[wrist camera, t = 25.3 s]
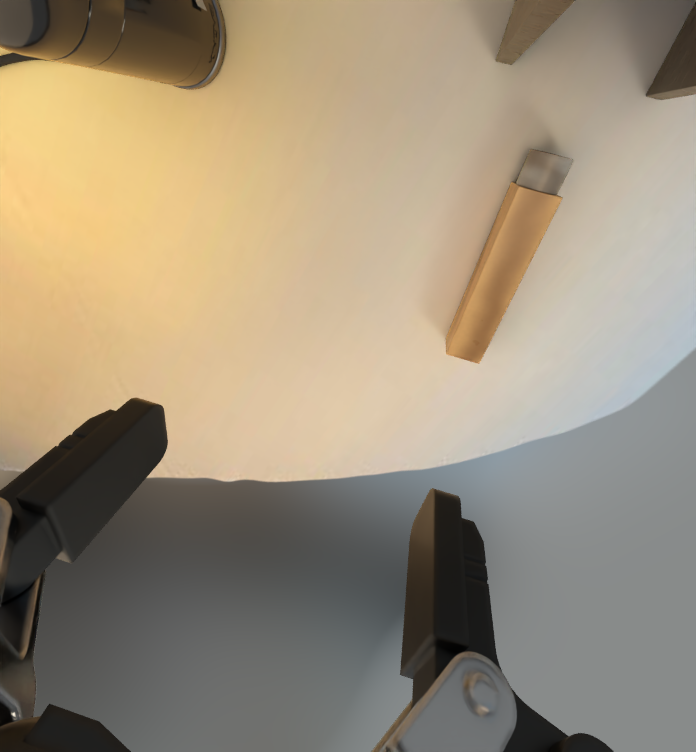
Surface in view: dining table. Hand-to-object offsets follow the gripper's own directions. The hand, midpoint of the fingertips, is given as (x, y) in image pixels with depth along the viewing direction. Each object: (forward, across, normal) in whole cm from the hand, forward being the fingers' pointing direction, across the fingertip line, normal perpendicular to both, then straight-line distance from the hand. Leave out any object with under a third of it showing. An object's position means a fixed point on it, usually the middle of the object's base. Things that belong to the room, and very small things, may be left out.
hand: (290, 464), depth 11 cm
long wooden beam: (+38, -12, +2) cm, 40 cm away
